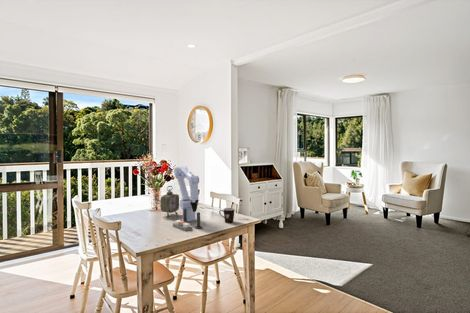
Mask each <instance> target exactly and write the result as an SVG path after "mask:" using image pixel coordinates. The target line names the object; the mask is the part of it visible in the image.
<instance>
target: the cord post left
mask: <svg viewBox="0 0 470 313" xmlns="http://www.w3.org/2000/svg"><path fill="white" fill-rule="evenodd" d="M182 219H183V221H185V222H186V223H189V222H188V221H187V213H186V209H182Z"/></svg>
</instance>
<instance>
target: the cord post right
mask: <svg viewBox="0 0 470 313" xmlns="http://www.w3.org/2000/svg"><path fill="white" fill-rule="evenodd" d="M194 229H196V230H202V229H203V226H202V225H201V212H200V211H199V212H196V226H194Z"/></svg>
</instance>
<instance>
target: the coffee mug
mask: <svg viewBox="0 0 470 313" xmlns="http://www.w3.org/2000/svg"><path fill="white" fill-rule="evenodd" d="M221 212H223V215H224V216H223V215H222V213H221ZM218 213H219V214H220V216H221V217H222V218H223V219H224V223H226V224H232V223H234V218H235V208H233V207H224V208H223V209H220V210H219V212H218Z"/></svg>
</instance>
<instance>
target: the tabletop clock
mask: <svg viewBox="0 0 470 313" xmlns="http://www.w3.org/2000/svg"><path fill="white" fill-rule="evenodd" d="M169 187H170V188H171V189H170V188H169ZM166 191H167V192H166V194H163V195H162V196H160V199H159V200H160V201H159V202H160V203H159V204H160V211H161V212H163V213H166V215H167V216H166V217H167V218H169V217H170V214H172V213H175V215H178V210H179V209H180V196H179V194H175V193H173V186H172V185H168V186H167V188H166Z"/></svg>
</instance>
